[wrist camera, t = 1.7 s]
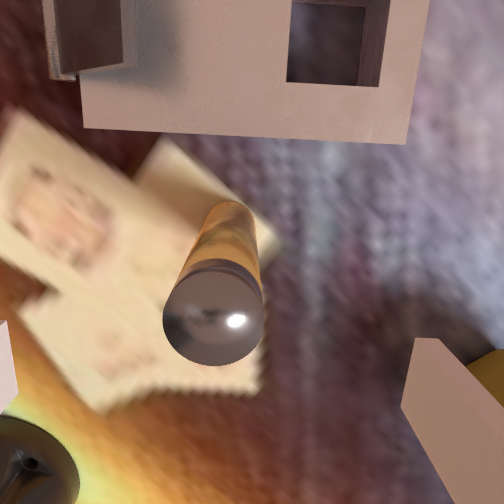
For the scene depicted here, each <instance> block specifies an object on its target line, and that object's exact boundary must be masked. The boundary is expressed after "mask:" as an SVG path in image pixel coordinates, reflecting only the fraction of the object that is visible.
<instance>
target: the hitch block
mask: <svg viewBox="0 0 504 504" xmlns="http://www.w3.org/2000/svg"><path fill="white" fill-rule="evenodd" d="M429 1H430V0H136V22H137V47H138V66H132V67H126V68H120V69H113V70H107V71H101V72H95V73H89V74H83V75H80V87H81V99H82V111H83V122H84V128H95V129H115V130H134V131H153V132H172V133H192V134H211V135H230V136H249V137H269V138H288V139H307V140H326V141H346V142H365V143H384V144H403V145H405V143H406V137H407V131H408V125H409V119H410V113H411V107H412V101H413V95H414V89H415V84H416V78H417V72H418V66H419V60H420V54H421V48H422V42H423V36H424V30H425V25H426V19H427V13H428V7H429ZM291 3H304V4H320V5H336V6H352V7H366V12H365V20H364V28H363V36H362V44H361V52H360V60H359V68H358V76H357V84H356V86H344V85H327V84H309V83H291V82H286V73H287V59H288V45H289V31H290V17H291Z"/></svg>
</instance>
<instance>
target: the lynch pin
mask: <svg viewBox="0 0 504 504" xmlns="http://www.w3.org/2000/svg"><path fill="white" fill-rule="evenodd" d="M163 328H164V332H165V335H166V337H167V339H168V341H169V343H170V344H171V345H172V347H173V348H174V349H175V350H176V351H177V352H178V353H179V354H181V355H182V356H183V357H185V358H187V359H188V360H190V361H193V362H195V363H198V364H202V365H207V366H221V365H227V364H231V363H234V362H236V361H238V360H240V359H242V358H244V357H245V356H247V355H248V354H249V353H250V352H251V351H252V350H253V349H254V348H255V347H256V345H257V344H258V342H259V340H260V338H261V336H262V333H263V328H264V313H263V303H262V293H261V282H260V272H259V261H258V251H257V240H256V230H255V221H254V218H253V215H252V213H251V212H250V211H249V209H248V208H246V207H245V206H244V205H242V204H240V203H237V202H232V201H228V202H223V203H220V204H218V205H216V206H215V207H214V208H213V209H212V210H211V211H210V212H209V214H208V216H207V218H206V220H205V222H204V224H203V226H202V228H201V230H200V233H199V235H198V237H197V239H196V241H195V243H194V245H193V247H192V249H191V252H190V254H189V256H188V258H187V260H186V262H185V264H184V266H183V268H182V270H181V273H180V275H179V277H178V279H177V281H176V283H175V285H174V287H173V289H172V292H171V294H170V296H169V298H168V300H167V302H166V304H165V307H164V311H163Z"/></svg>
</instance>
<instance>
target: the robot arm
mask: <svg viewBox="0 0 504 504" xmlns="http://www.w3.org/2000/svg"><path fill="white" fill-rule="evenodd" d="M17 395H18V387H17V381H16V375H15V369H14V363H13V356H12V350H11V344H10V338H9V332H8V326H7V321H5V320H0V414H1V413H2V412H3V411H4V409H5V408H6V407H7V406H8V405H9V404H10V403H11V401H12V400H13V399H14V398H15V397H16V396H17ZM400 407H401V409H402V411H403V413H404V414H405V416H406V418H407V420H408V421H409V423H410V425H411V427H412V428H413V430H414V432H415V434H416V436H417V437H418V439H419V441H420V443H421V444H422V446H423V448H424V450H425V451H426V453H427V455H428V457H429V458H430V460H431V462H432V464H433V466H434V467H435V469H436V471H437V473H438V474H439V476H440V478H441V480H442V481H443V483H444V485H445V487H446V489H447V490H448V492H449V494H450V496H451V497H452V499H453V501H454V503H455V504H504V408H503V407H502V406H501V405H500V404H499V403H498V401H497V400H496V399H495V398H494V397H493V396H492V395H491V394H490V393H489V392H488V391H487V390H486V389H485V388H484V387H483V386H482V384H481V383H480V382H479V381H478V380H477V379H476V378H475V377H474V376H473V375H472V374H471V373H470V372H469V371H468V370H467V369H466V367H465V366H464V365H463V364H462V363H461V362H460V361H459V360H458V359H457V358H456V357H455V356H454V355H453V354H452V353H451V352H450V350H449V349H448V348H447V347H446V346H445V345H444V344H443V343H442V342H441V341H440V340H439V339H437V338H415V341H414V346H413V351H412V355H411V360H410V365H409V369H408V374H407V378H406V383H405V388H404V392H403V397H402V401H401V406H400ZM79 488H80V479H79V474H78V470H77V467H76V465H75V463H74V461H73V459H72V457H71V456H70V454H69V453H68V452H67V451H66V449H65V448H64V447H63V446H62V445H61V444H60V443H59V442H58V441H57V440H55V439H54V438H53V437H52V436H50V435H49V434H47V433H46V432H44V431H42V430H41V429H39V428H37V427H35V426H33V425H30V424H28V423H25V422H22V421H19V420H16V419H11V418H6V417H0V504H75V502H76V500H77V497H78V494H79Z"/></svg>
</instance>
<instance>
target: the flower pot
mask: <svg viewBox="0 0 504 504" xmlns="http://www.w3.org/2000/svg"><path fill="white" fill-rule="evenodd" d="M465 367H466V369H467V370H468V371H469V372H470V373H471V374H472V375H473V376H474V377H475V378H476V379H477V380H478V381H479V382H480V383H481V384H482V386H483V387H484V388H485V389H486V390H487V391H488V392H489V393H490V394H491V395H492V396H493V397H494V398H495V399H496V400H497V401H498V403H499V404H500V405H501V406H502V407H503V408H504V349H499V350H494V351H492V352H490V353H488V354H486V355H485V356H483V357H481V358H479V359H478V360H476V361H474V362H472V363H471V364H469V365H467V366H465Z"/></svg>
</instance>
